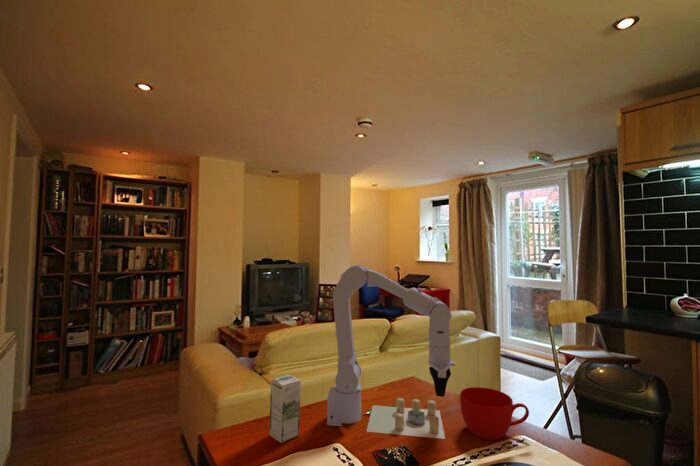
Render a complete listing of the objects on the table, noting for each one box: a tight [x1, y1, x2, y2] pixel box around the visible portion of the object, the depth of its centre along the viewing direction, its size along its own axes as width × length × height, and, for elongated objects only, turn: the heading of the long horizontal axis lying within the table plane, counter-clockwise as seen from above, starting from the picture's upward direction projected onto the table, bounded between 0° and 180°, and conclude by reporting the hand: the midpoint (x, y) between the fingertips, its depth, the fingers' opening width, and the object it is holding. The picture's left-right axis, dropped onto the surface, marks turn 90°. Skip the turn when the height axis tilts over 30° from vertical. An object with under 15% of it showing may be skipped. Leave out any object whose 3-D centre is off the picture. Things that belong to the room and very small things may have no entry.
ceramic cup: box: [459, 386, 530, 441], centre depth 90 cm, size 13×17×10 cm
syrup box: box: [268, 374, 302, 444], centre depth 90 cm, size 6×6×14 cm
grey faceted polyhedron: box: [408, 410, 425, 426], centre depth 96 cm, size 5×4×2 cm
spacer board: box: [366, 397, 446, 440], centre depth 96 cm, size 20×16×4 cm
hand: (440, 395), depth 95 cm, fingers closed
